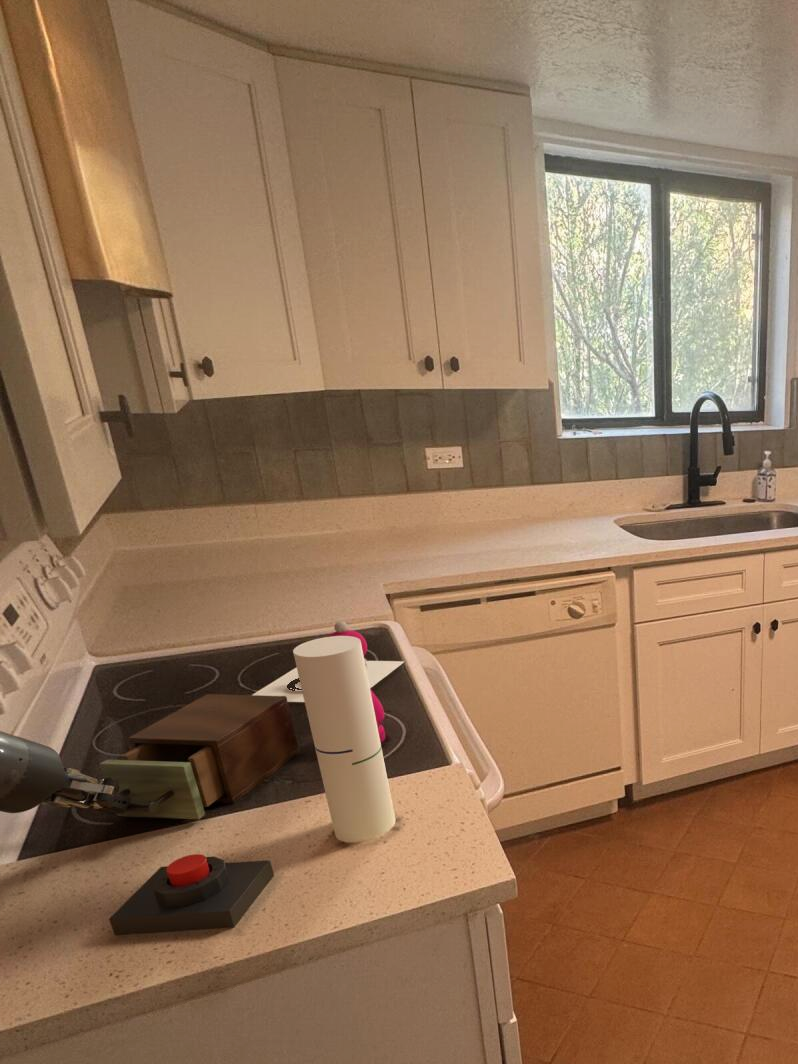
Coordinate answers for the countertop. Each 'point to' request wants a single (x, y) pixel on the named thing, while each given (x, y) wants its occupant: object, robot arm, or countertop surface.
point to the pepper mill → (378, 708)
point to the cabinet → (232, 736)
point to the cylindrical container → (345, 736)
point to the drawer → (167, 780)
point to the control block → (193, 899)
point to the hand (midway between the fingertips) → (122, 805)
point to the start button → (188, 870)
